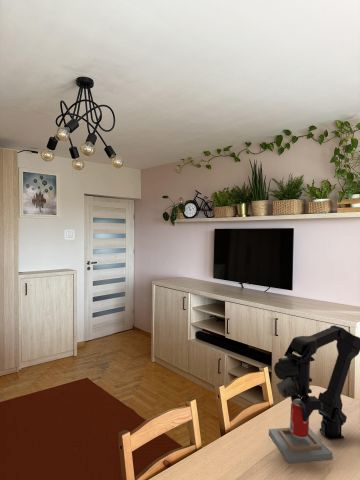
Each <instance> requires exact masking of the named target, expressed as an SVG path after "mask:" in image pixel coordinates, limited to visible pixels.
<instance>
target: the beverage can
mask: <svg viewBox="0 0 360 480" xmlns="http://www.w3.org/2000/svg"><path fill="white" fill-rule="evenodd" d="M298 403H300V399H294V400H293V402H292V401H291V403H290V417H289V419H290V421H289V422H290V424H289V428H290V432H291V433H292V434H293V436H295V437H297V438H300V439H302V438H305V437H306V436H308V431H309V428H310V417H309V418H308V420H307V421H306V422H304V421H303V417H302V407H301V406H300V405H299V404H298Z"/></svg>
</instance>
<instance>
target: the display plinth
mask: <svg viewBox="0 0 360 480" xmlns="http://www.w3.org/2000/svg"><path fill="white" fill-rule="evenodd" d="M268 435H269V436H270V438H271V439H272V441H273V442H274V444H275V446H276V447H277V448H278V450H279V452H280V453H281V454H282V456H283V457H284V458H285V460H286V462H287V463H288V464H291V463H301V462H303V463H304V462H312V461H313V462H314V461H323V460H333V452H332V451H331V449H329V448H328V446H327V445H326V444H325V443H324V442H323V441H322V440H321V439H320V437H319V436H318V435H317V434H316V433H315V431H313V430H312V429H311V428H310V427H309V431H308V436H306V437H305V438H302V439H300V438H297V437H295V436H293V434H292V433H291V432H290V427H278V428H269V429H268Z"/></svg>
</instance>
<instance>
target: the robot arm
mask: <svg viewBox="0 0 360 480" xmlns="http://www.w3.org/2000/svg"><path fill="white" fill-rule="evenodd" d="M335 341H336V345H335V346H336V350H337V357H336V360H335V363H334V366H333V368H332V369H333V370H332V373H331V376H330V379H329V382H328V386H327V388H326V390H325V391H324V392H319V394H318V397H317V396H315V395H311V396H310V395H309V394H312V393H313V390H312V389H311V388H310V383H312V382H313V378H312V377H311V374H310V373H311V362H315V358H314V357H313V356H314V354H316V353H317V351H318V349H319V348H322V347H324V346H326V345H328V344H330V343H333V342H335ZM296 354H297V355H296ZM359 354H360V337H359V336H357V335H354V334H352V333H350V332H349V331H347V329H345V328H344V327H341V326H338V325H335V324H334V325H331V326H330V327H328V328H326V329H324V330H323V329H322V331H318V332H316V333H314V334H311V335H301V336H295V337H294V338H292V340H291V342H290V343H289V345H288V347H287V349H286V351H285V353H284V357H283V358H282V357H280V358H278V361H277V362H276V363H275V364H274V366H273V370H274V371H273V372H274V374H275V376H276V378H278V379H279V380H281V381H280V382H278V383H276V388H277V390H278V393H279V394H280V396H282V398H286V399H287V398H288V397H289V398H290V401H291V403H292V402H293V400H294V399H300V403H298V404H299V405H300V406H301V407H302V417H303V421H304V422H306V421H307V420H308V418H309V419H310V416H311V415H312V413H313V411H318V415H320V416H322V418H321V419H322V420H320V428H319V431H320V432H321V433H322V435H324V437H325V438H326V439H327V440H328V441H329V440H340V439H345V436H344V435H343V434H342V432H343V431H342V428H343V426H344V424H346V422H347V418H348V417H347V415H346V414H345V413H344V412H343V400H342V392H343V390H344V386H345V383H346V380H347V377H348V373H349V370H350V366H351V365H352V360H353V359H354V358H355V357H357V356H358V355H359Z"/></svg>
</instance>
